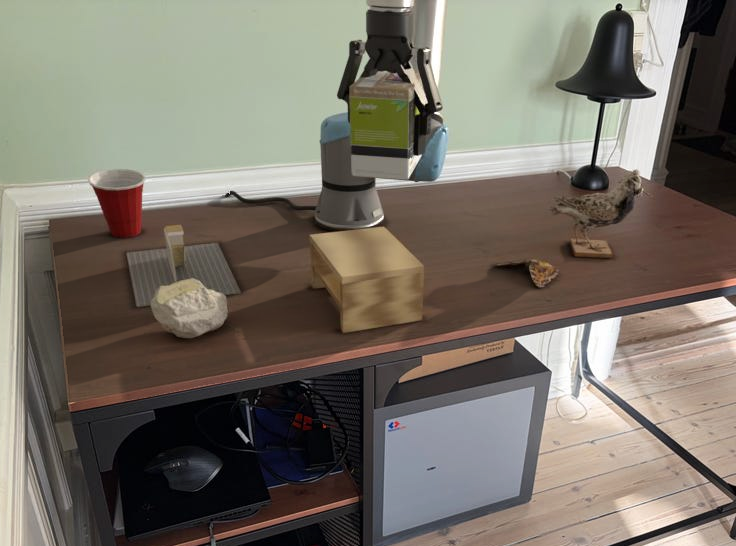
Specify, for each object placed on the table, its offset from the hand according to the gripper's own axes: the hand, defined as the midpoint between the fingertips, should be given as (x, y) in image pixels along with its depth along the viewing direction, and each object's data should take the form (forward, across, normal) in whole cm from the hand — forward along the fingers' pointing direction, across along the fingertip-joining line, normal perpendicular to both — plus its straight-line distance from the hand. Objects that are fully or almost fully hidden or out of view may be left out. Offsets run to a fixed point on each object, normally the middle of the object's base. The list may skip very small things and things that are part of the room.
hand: (388, 148), depth 127 cm
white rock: (+25, -16, -34) cm, 45 cm away
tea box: (+3, 0, 0) cm, 3 cm away
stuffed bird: (+24, +30, +35) cm, 52 cm away
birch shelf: (+24, +2, -11) cm, 27 cm away
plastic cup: (+24, -57, -8) cm, 63 cm away
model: (+25, -34, -17) cm, 46 cm away
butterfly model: (+25, +23, +17) cm, 38 cm away
